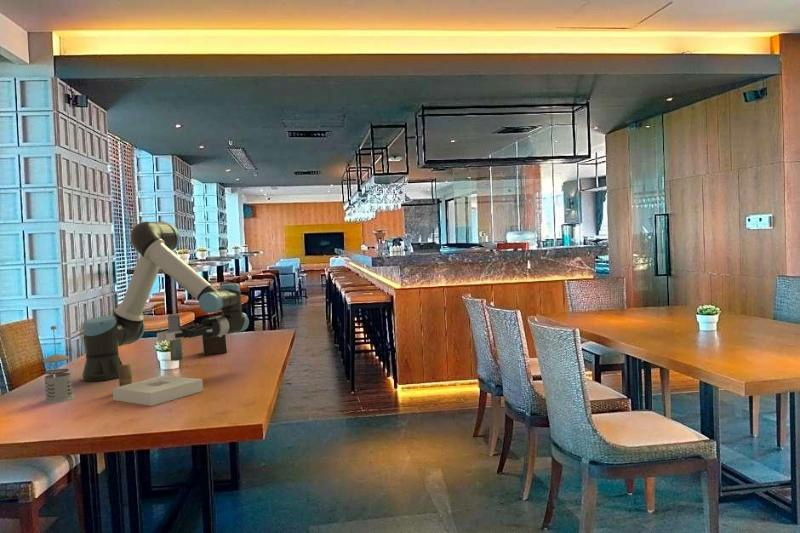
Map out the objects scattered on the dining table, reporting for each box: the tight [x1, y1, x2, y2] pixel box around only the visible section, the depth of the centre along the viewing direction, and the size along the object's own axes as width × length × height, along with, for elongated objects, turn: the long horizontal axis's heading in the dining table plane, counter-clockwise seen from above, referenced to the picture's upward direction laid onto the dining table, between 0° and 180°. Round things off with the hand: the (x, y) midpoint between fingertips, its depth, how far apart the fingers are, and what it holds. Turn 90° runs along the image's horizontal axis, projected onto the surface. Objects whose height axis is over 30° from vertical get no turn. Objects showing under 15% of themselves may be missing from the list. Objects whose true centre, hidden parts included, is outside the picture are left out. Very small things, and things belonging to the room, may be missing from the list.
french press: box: [42, 325, 76, 404], centre depth 217 cm, size 10×12×25 cm
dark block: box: [201, 316, 228, 356], centre depth 296 cm, size 16×11×18 cm
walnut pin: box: [118, 363, 133, 386], centre depth 223 cm, size 4×4×9 cm
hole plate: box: [112, 374, 204, 407], centre depth 214 cm, size 20×20×4 cm
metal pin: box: [167, 313, 184, 362], centre depth 229 cm, size 4×4×16 cm
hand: (162, 337), depth 224 cm, fingers closed on metal pin, 4 cm apart
